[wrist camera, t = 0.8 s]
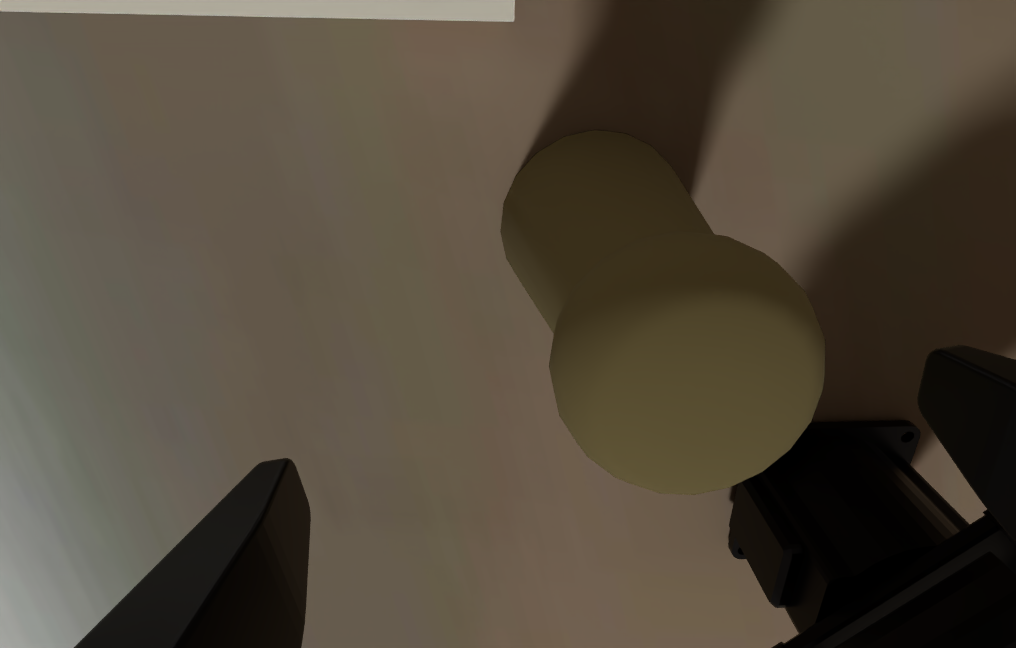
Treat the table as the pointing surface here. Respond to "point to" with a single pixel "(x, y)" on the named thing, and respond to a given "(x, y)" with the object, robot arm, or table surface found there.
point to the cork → (659, 320)
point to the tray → (284, 8)
